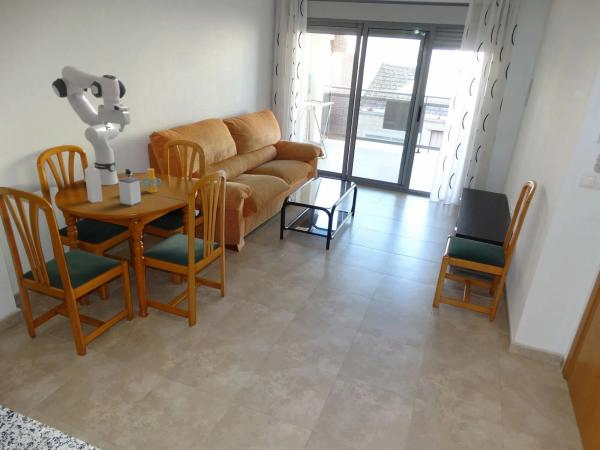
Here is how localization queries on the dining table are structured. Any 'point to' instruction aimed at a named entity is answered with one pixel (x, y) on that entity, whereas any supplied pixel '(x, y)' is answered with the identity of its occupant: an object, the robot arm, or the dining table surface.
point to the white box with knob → (130, 191)
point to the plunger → (128, 173)
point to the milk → (93, 184)
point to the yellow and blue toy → (151, 181)
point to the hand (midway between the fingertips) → (114, 131)
